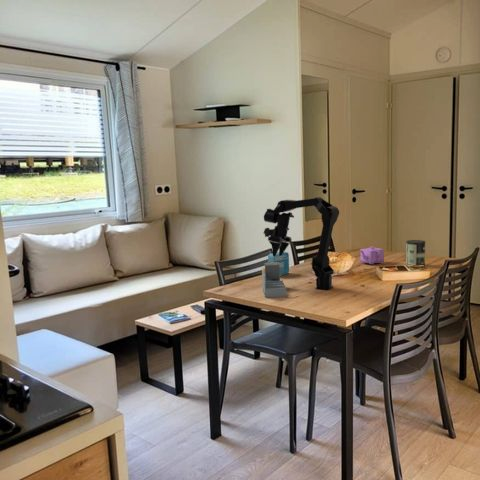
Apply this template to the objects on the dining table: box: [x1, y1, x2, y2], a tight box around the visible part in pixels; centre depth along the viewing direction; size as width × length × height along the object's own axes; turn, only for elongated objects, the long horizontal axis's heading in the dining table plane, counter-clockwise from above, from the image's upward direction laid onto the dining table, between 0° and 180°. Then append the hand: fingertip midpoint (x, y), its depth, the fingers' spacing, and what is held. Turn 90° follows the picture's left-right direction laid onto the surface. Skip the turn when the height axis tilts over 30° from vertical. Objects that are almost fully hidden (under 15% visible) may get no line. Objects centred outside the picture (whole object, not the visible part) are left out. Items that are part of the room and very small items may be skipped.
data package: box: [267, 251, 290, 276], centre depth 281 cm, size 12×4×12 cm, turn 133°
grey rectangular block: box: [264, 262, 281, 281], centre depth 253 cm, size 7×3×12 cm, turn 91°
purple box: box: [359, 245, 385, 265], centre depth 303 cm, size 18×14×10 cm
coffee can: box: [405, 239, 426, 266], centre depth 291 cm, size 10×10×14 cm
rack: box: [261, 267, 288, 298], centre depth 241 cm, size 10×16×12 cm, turn 1°
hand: (277, 255), depth 258 cm, fingers open, 9 cm apart
